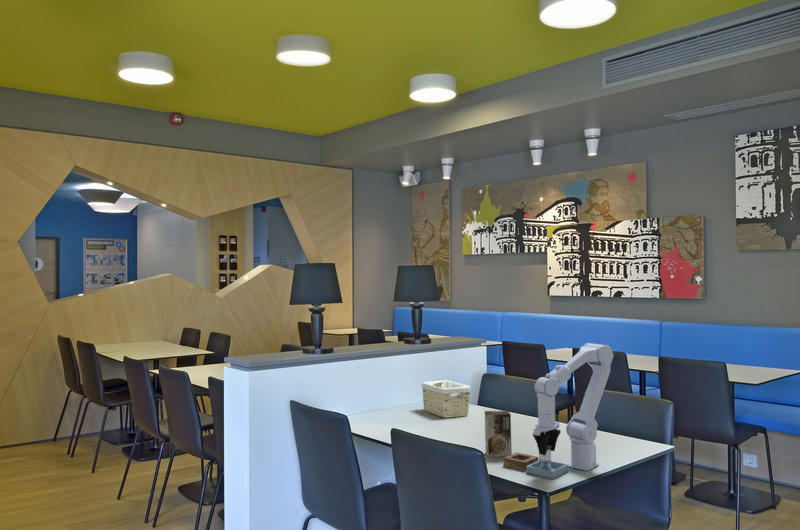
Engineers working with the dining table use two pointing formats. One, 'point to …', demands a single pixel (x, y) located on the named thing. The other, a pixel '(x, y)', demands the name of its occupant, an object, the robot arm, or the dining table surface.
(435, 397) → the storage basket
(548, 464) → the glass jar
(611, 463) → the dining table surface
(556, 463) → the slate-blue tray
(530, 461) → the wooden square frame
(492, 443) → the coffee box
